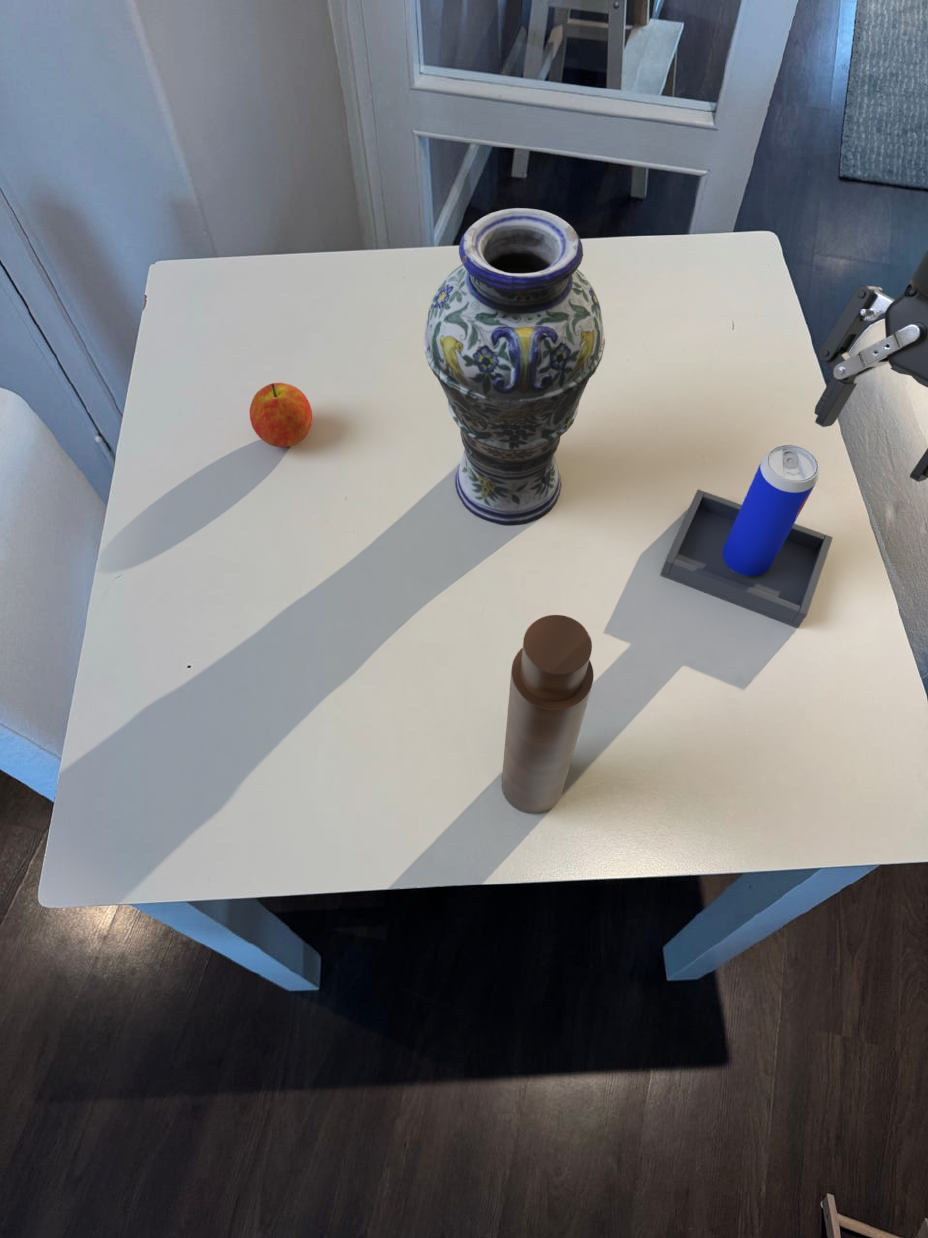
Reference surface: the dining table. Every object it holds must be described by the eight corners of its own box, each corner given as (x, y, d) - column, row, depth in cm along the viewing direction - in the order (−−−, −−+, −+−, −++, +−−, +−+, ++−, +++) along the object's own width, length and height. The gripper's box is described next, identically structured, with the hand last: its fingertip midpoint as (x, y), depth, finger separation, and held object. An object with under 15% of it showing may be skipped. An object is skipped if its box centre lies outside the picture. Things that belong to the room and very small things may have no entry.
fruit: (321, 453, 97) (309, 402, 90) (261, 464, 96) (245, 414, 89) (311, 410, 100) (300, 358, 93) (253, 421, 99) (237, 369, 92)
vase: (433, 547, 90) (417, 315, 64) (432, 428, 98) (417, 182, 73) (588, 543, 90) (634, 310, 64) (573, 424, 99) (608, 178, 73)
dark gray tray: (824, 551, 89) (833, 536, 87) (798, 628, 84) (806, 615, 82) (692, 503, 92) (697, 488, 90) (659, 575, 87) (664, 561, 85)
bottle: (572, 770, 76) (614, 626, 54) (548, 824, 74) (581, 696, 52) (517, 745, 78) (535, 594, 55) (491, 797, 75) (499, 661, 53)
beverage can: (774, 579, 86) (827, 485, 73) (724, 579, 86) (768, 485, 74) (766, 539, 89) (816, 441, 76) (717, 539, 89) (759, 441, 76)
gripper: (885, 195, 57) (771, 411, 67) (1094, 275, 50) (933, 505, 60) (926, 205, 62) (815, 405, 72) (1122, 280, 55) (969, 492, 64)
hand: (869, 450), depth 66 cm, fingers open, 8 cm apart
